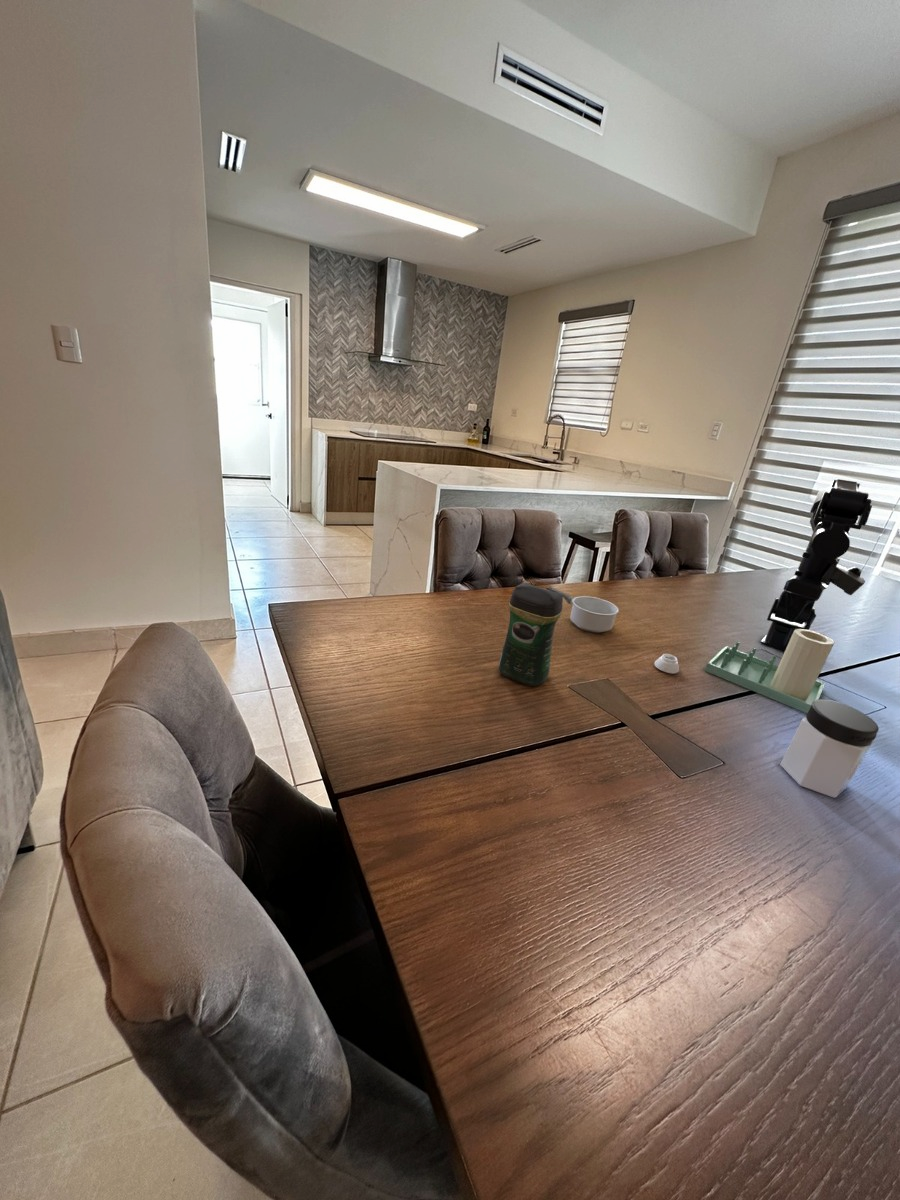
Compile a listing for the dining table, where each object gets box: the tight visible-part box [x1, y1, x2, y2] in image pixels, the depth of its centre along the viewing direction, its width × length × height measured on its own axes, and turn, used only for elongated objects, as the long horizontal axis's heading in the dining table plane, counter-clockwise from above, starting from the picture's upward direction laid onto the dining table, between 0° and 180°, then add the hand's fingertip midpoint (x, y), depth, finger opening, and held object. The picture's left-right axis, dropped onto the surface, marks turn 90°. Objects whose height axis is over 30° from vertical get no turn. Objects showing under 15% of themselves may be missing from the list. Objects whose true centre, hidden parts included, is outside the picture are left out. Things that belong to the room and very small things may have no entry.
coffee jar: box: [498, 582, 564, 687], centre depth 90 cm, size 10×8×19 cm
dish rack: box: [704, 641, 826, 714], centre depth 102 cm, size 14×20×5 cm
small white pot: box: [653, 653, 680, 674], centre depth 102 cm, size 5×3×5 cm
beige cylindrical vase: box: [771, 629, 835, 701], centre depth 96 cm, size 7×7×13 cm
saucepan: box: [545, 585, 620, 633], centre depth 122 cm, size 12×20×6 cm, turn 46°
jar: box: [779, 699, 880, 798], centre depth 73 cm, size 9×8×12 cm
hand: (794, 616), depth 105 cm, fingers open, 9 cm apart
